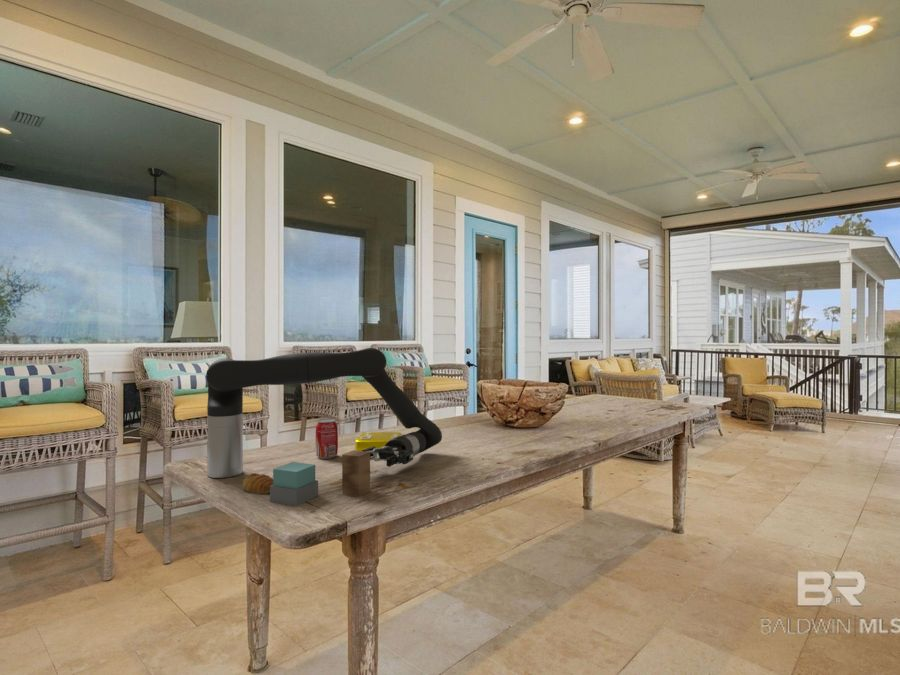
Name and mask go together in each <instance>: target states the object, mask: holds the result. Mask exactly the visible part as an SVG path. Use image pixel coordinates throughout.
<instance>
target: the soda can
mask: <svg viewBox="0 0 900 675" xmlns="http://www.w3.org/2000/svg"><path fill="white" fill-rule="evenodd" d="M336 421H337V420H336V419H334V418H322V419H318V420H317V423H316V425H315V455H316V457H318V458H319V459H322V460H328V459H333V458H335V457H336V456H337V455H338V452H339V428H338V426H339V425H338V424H337V422H336Z"/></svg>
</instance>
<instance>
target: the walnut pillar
mask: <svg viewBox="0 0 900 675" xmlns="http://www.w3.org/2000/svg"><path fill="white" fill-rule="evenodd" d="M370 458H371V457H370V452H366V451H356V450H355V449H353V450H350V451H347V452H345V453H343V454H342V455H341V461H342V462H341V464H342V465H341V466H342V468H341V469H342V472H341V473H342V474H341V476H342V477H341V478H342V481H341V482H342V483H341V484H342V486H341V487H342V488H341V489H342V493H341V494H342V495H344V496H352V497H356V498H357V497H358V498H359V497H362V496H363V495H366V494H367V493H369V492H370V491H371V460H370Z"/></svg>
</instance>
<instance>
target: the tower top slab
mask: <svg viewBox="0 0 900 675" xmlns="http://www.w3.org/2000/svg"><path fill="white" fill-rule="evenodd" d="M272 473H273V476H272V479H273V485H274V486H280V487H287V488H294V489H297V488H300V487H302V486H304V485H307V484H309V483H311V482H314V481H315V480H316V464H315V463H314V464H312V463H305V462H298V461H297V462H296V461H292V462H288V463H285V464H283V465H280V466H278V467H275V468H274V467H273V468H272Z"/></svg>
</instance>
